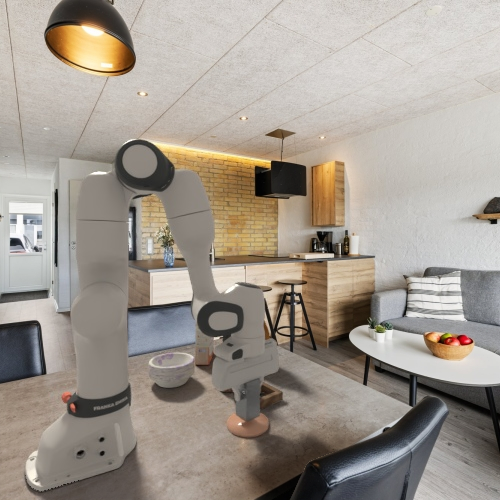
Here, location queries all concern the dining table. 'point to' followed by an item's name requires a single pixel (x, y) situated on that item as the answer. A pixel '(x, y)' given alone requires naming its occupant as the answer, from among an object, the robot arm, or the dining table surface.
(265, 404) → the socket block
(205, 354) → the cracker box
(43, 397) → the dining table surface
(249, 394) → the steel peg
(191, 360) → the paper bowls
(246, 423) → the peach domed puck
